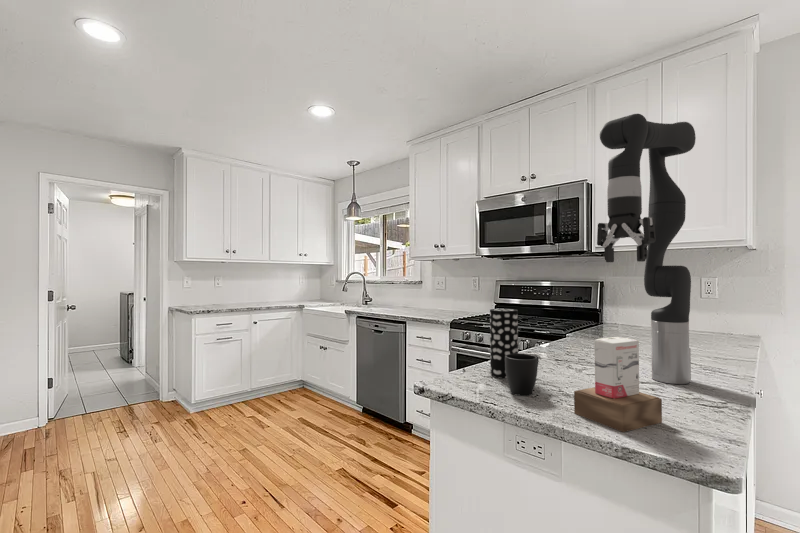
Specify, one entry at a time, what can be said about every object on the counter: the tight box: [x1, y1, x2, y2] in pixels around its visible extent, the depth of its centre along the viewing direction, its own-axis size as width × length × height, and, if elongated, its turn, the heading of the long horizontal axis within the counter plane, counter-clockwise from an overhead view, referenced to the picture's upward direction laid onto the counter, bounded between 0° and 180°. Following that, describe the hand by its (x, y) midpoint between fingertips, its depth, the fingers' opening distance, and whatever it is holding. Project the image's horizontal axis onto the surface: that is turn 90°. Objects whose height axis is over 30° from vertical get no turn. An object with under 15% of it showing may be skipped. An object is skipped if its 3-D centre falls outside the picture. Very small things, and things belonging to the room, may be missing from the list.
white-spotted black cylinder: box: [489, 308, 519, 380], centre depth 127 cm, size 8×8×20 cm
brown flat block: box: [573, 386, 663, 433], centre depth 90 cm, size 12×12×5 cm
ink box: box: [593, 336, 640, 399], centre depth 90 cm, size 9×5×12 cm, turn 116°
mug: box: [505, 353, 539, 397], centre depth 110 cm, size 8×12×10 cm
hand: (624, 261), depth 103 cm, fingers open, 8 cm apart
